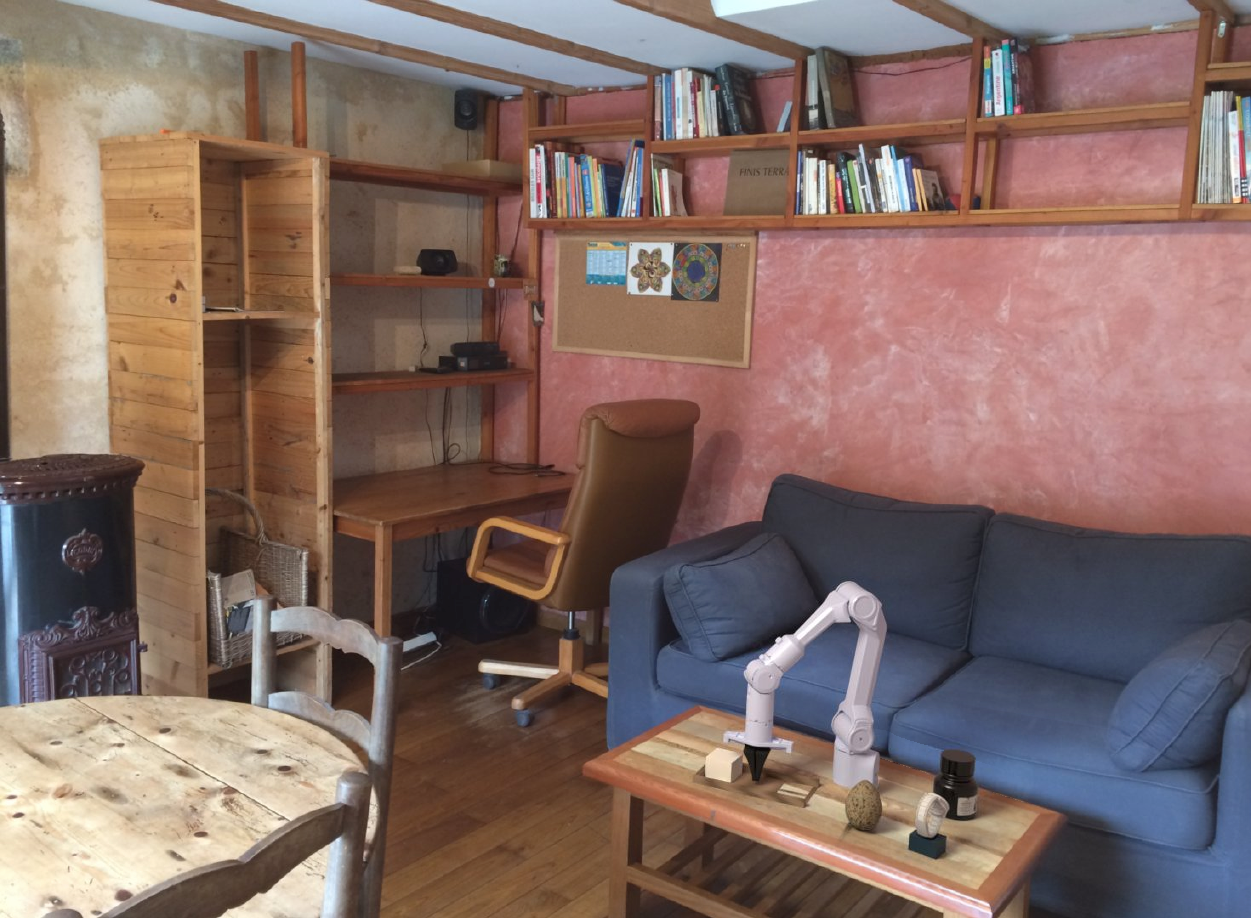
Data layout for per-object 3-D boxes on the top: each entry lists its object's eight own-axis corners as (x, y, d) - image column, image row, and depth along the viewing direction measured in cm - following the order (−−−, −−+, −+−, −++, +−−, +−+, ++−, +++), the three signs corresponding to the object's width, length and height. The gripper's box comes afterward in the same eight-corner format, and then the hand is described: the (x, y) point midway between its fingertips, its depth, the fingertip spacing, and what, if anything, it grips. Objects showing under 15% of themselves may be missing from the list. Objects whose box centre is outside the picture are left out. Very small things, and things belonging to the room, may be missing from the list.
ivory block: (742, 773, 237) (743, 753, 237) (730, 783, 232) (731, 762, 232) (716, 767, 240) (717, 747, 240) (704, 776, 235) (705, 756, 235)
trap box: (818, 792, 233) (819, 778, 233) (803, 814, 222) (803, 800, 222) (712, 769, 243) (712, 756, 242) (692, 789, 232) (692, 776, 232)
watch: (950, 848, 210) (954, 793, 209) (931, 862, 204) (935, 806, 203) (922, 838, 214) (926, 784, 212) (903, 852, 208) (907, 796, 206)
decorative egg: (888, 829, 217) (891, 781, 216) (866, 840, 212) (869, 791, 211) (858, 816, 222) (861, 769, 221) (836, 826, 217) (839, 778, 216)
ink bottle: (969, 825, 220) (974, 768, 218) (925, 814, 224) (929, 758, 223) (981, 808, 228) (986, 753, 227) (938, 797, 233) (943, 743, 231)
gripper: (797, 716, 232) (794, 777, 234) (730, 706, 237) (727, 766, 238) (790, 727, 225) (787, 790, 227) (722, 716, 230) (719, 778, 232)
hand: (756, 779), depth 232 cm, fingers closed
